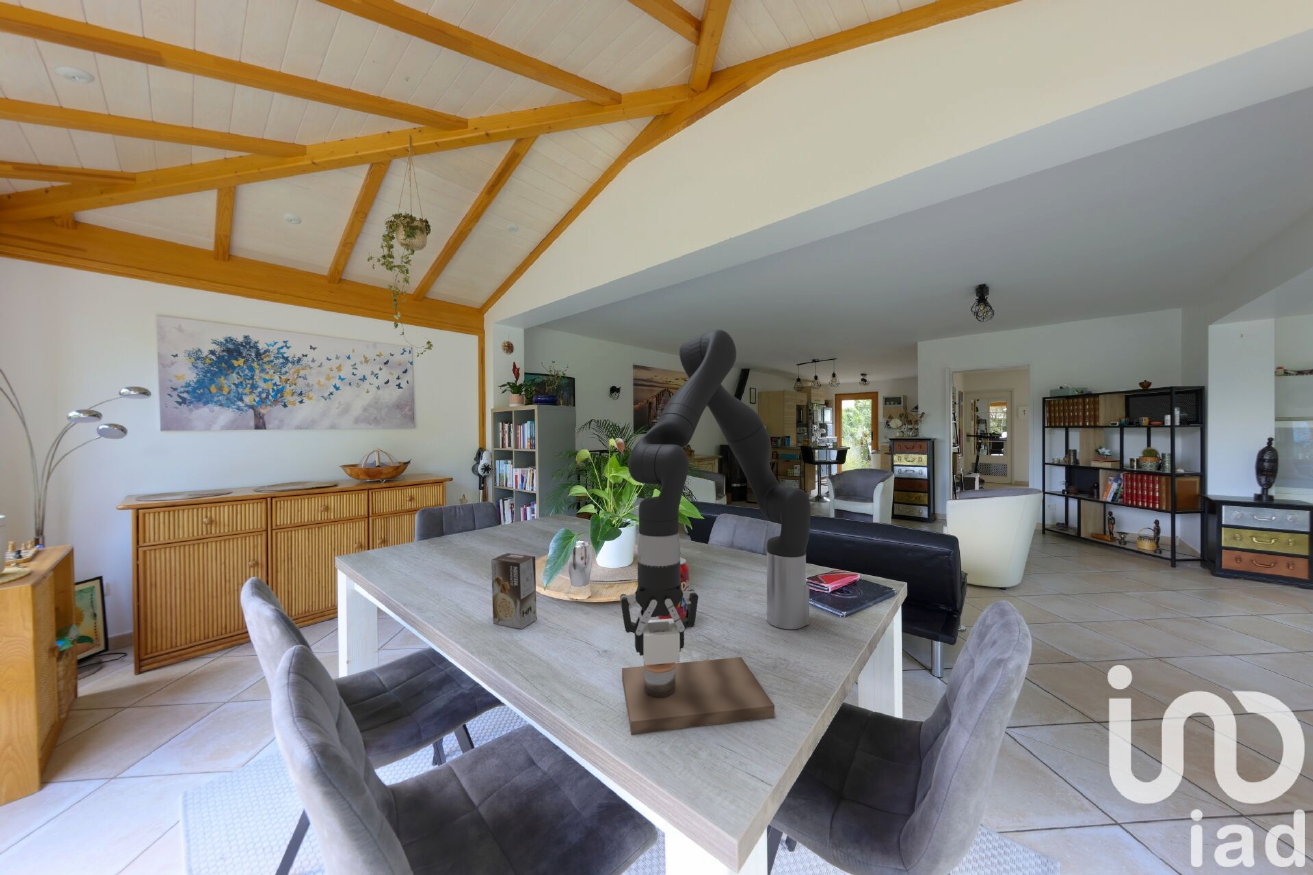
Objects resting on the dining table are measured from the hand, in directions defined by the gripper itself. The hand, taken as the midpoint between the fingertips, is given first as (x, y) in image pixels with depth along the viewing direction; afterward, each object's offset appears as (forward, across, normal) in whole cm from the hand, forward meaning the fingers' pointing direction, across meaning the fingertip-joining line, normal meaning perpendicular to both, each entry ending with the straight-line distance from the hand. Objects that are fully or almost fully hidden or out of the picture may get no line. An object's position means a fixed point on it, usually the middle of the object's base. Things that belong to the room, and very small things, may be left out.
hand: (659, 651), depth 81 cm
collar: (+1, 0, 0) cm, 1 cm away
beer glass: (+9, +14, -52) cm, 54 cm away
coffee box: (+9, +30, -38) cm, 49 cm away
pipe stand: (+9, -6, 0) cm, 11 cm away
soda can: (+9, -9, -32) cm, 34 cm away
